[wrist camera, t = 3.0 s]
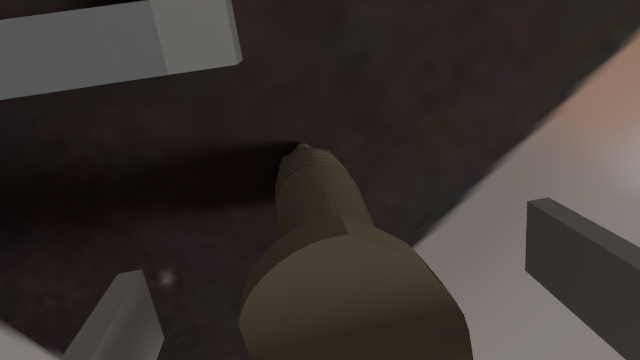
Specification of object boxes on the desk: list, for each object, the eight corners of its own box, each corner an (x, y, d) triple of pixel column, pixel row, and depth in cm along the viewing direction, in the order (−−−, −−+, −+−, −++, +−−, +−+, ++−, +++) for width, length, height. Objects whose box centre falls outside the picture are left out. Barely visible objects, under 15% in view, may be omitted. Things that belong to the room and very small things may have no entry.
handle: (310, 229, 25) (366, 465, 11) (238, 154, 23) (195, 330, 9) (370, 179, 25) (509, 364, 11) (302, 98, 23) (362, 194, 9)
